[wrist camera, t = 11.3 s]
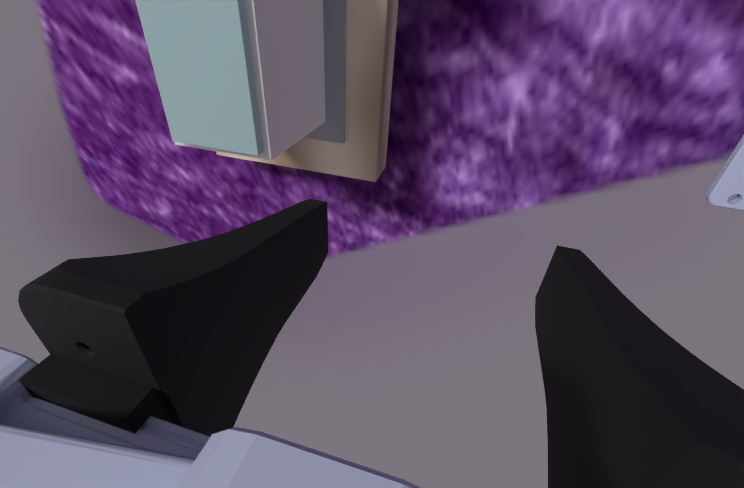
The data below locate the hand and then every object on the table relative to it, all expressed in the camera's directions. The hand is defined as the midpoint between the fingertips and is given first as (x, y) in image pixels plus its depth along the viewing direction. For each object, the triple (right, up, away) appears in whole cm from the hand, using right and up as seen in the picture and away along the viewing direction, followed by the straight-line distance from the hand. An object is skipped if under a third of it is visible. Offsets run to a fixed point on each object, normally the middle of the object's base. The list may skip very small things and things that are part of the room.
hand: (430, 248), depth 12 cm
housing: (-6, +10, +5) cm, 13 cm away
